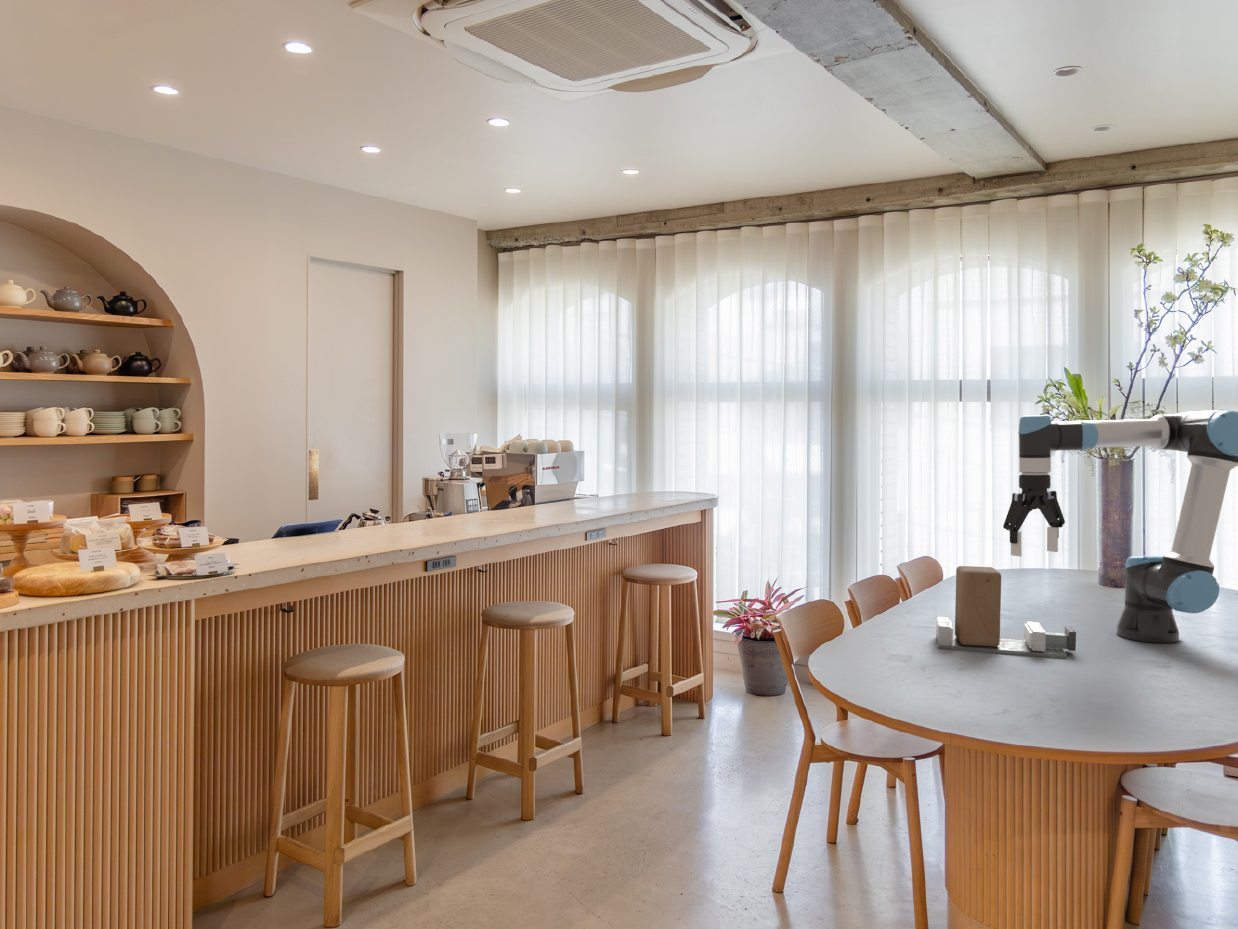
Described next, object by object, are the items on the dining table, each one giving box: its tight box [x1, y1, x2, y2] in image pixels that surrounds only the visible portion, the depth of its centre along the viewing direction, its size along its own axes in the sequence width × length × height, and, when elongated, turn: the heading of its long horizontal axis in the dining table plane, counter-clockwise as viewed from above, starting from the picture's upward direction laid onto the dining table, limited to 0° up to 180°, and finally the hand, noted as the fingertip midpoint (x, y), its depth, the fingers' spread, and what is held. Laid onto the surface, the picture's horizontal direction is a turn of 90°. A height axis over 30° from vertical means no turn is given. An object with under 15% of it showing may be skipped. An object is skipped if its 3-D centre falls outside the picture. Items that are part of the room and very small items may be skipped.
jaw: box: [1023, 621, 1077, 652], centre depth 230 cm, size 11×12×5 cm
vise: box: [935, 616, 1068, 660], centre depth 234 cm, size 31×13×6 cm, turn 72°
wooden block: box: [954, 565, 1002, 647], centre depth 235 cm, size 10×10×20 cm
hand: (1034, 553), depth 230 cm, fingers open, 13 cm apart
